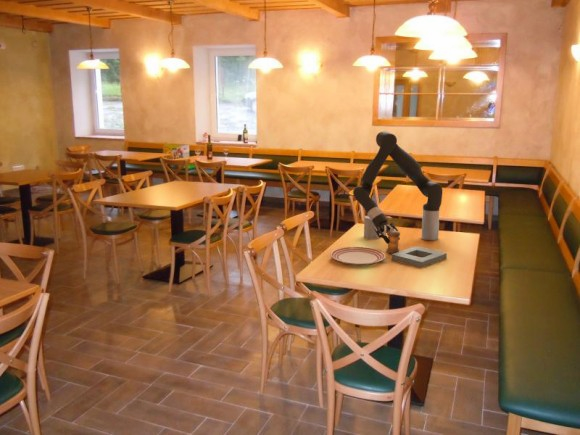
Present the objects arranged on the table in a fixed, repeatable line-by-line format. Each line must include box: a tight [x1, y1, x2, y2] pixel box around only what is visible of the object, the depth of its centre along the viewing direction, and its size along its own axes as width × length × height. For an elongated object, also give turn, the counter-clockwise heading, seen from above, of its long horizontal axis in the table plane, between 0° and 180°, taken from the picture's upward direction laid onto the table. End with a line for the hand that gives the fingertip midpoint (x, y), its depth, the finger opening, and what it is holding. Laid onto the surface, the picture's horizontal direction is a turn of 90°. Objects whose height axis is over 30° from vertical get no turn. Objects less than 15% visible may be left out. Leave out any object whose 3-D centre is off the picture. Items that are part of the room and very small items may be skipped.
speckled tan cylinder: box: [363, 215, 381, 240], centre depth 307 cm, size 10×10×12 cm
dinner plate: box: [330, 246, 386, 266], centre depth 266 cm, size 27×27×3 cm
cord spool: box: [386, 230, 401, 255], centre depth 278 cm, size 7×7×11 cm
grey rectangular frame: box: [391, 245, 448, 269], centre depth 266 cm, size 22×18×3 cm
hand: (393, 241), depth 277 cm, fingers open, 8 cm apart
